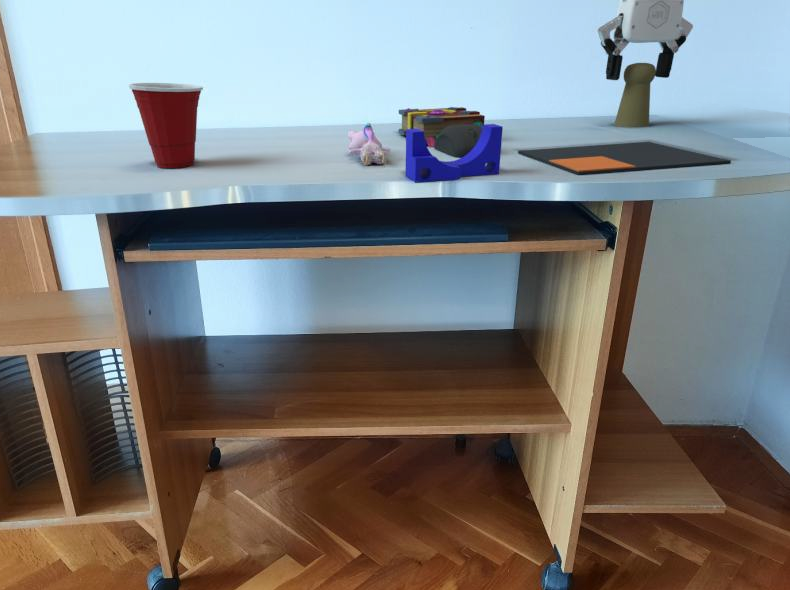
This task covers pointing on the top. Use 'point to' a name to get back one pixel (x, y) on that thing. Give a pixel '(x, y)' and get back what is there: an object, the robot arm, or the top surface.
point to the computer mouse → (458, 139)
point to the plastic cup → (169, 120)
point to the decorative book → (437, 120)
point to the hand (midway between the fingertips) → (637, 78)
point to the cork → (636, 96)
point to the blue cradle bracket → (431, 169)
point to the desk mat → (620, 157)
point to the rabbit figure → (367, 146)
